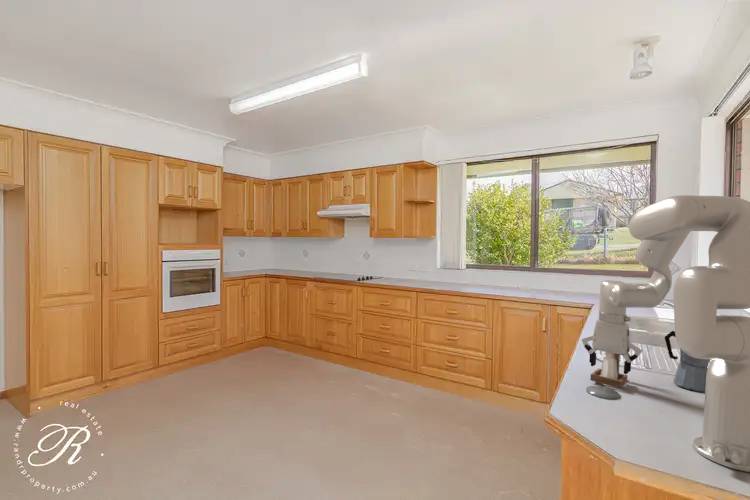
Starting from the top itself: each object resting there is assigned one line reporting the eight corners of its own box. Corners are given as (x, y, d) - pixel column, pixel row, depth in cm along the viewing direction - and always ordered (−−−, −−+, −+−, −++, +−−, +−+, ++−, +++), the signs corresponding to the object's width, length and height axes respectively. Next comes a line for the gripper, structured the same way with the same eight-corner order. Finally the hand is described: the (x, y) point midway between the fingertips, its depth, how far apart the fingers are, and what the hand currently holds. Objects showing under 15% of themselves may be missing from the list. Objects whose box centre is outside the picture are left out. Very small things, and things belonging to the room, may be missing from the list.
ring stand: (620, 391, 121) (622, 341, 121) (590, 383, 127) (592, 335, 127) (630, 380, 131) (633, 334, 130) (602, 373, 137) (604, 329, 136)
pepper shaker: (620, 384, 127) (621, 351, 127) (615, 388, 124) (617, 354, 123) (601, 379, 131) (603, 347, 131) (597, 383, 127) (598, 350, 127)
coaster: (615, 402, 113) (615, 400, 113) (581, 392, 119) (582, 390, 119) (623, 393, 119) (623, 392, 119) (591, 385, 126) (591, 383, 126)
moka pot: (726, 395, 120) (731, 332, 119) (671, 390, 123) (674, 328, 122) (707, 384, 129) (710, 325, 129) (655, 379, 133) (659, 322, 132)
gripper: (646, 321, 123) (643, 373, 124) (587, 312, 135) (584, 360, 136) (640, 324, 118) (637, 379, 118) (579, 315, 130) (577, 364, 131)
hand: (609, 369), depth 127 cm, fingers open, 9 cm apart
